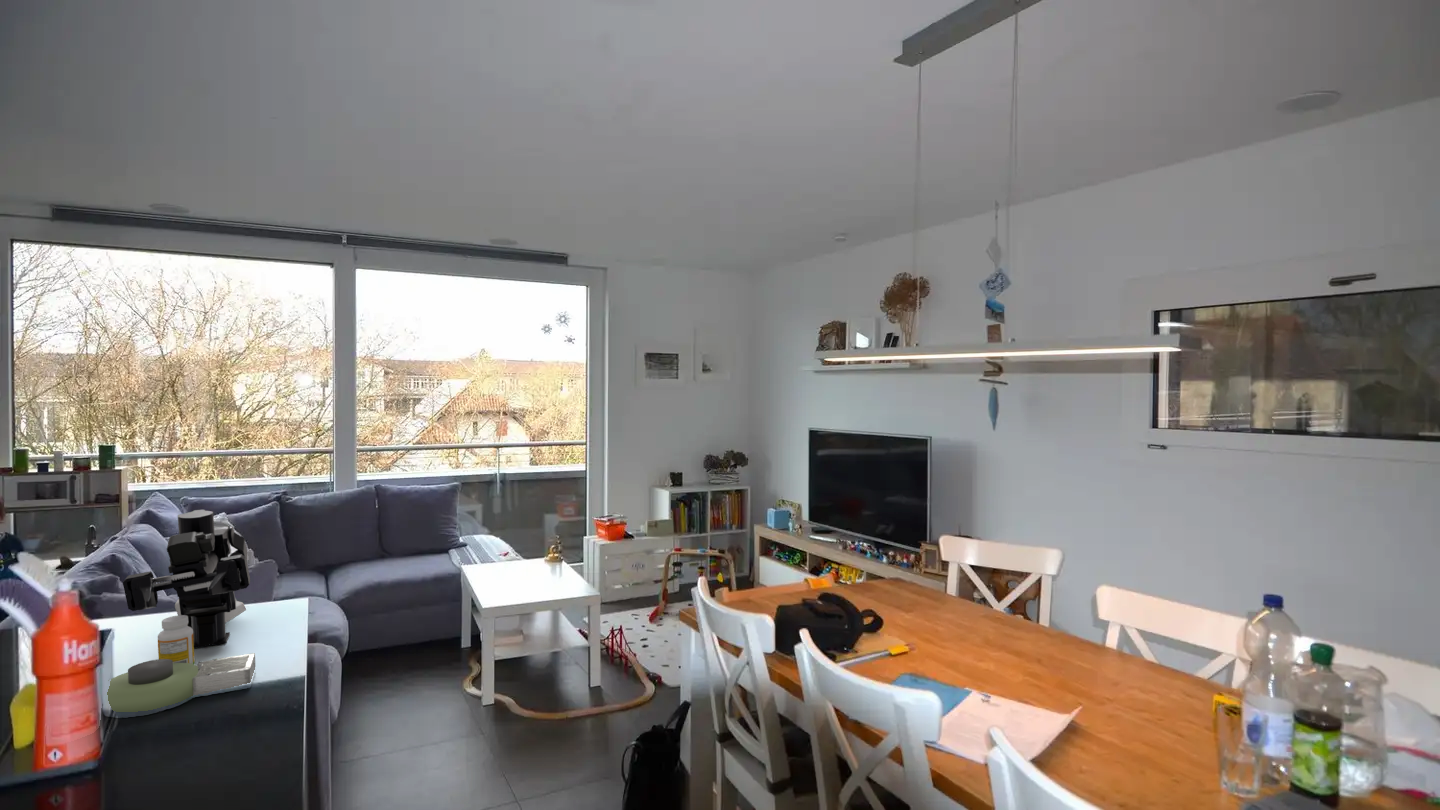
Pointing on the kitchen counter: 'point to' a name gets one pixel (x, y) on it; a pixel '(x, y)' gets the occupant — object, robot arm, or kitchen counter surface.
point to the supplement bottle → (176, 640)
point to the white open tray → (223, 673)
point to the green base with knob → (151, 686)
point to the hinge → (228, 615)
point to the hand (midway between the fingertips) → (179, 598)
